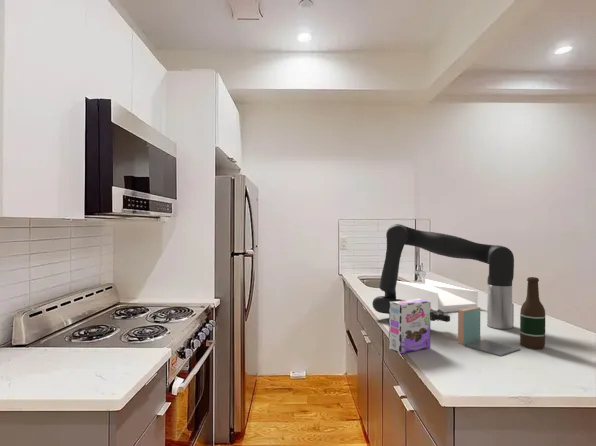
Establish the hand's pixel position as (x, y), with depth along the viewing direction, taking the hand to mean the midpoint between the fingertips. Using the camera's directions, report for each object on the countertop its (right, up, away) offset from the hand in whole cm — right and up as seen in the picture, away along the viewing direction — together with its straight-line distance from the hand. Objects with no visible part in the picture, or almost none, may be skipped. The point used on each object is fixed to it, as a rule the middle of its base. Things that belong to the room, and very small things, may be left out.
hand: (448, 319), depth 159 cm
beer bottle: (+25, -7, -13) cm, 29 cm away
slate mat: (+10, -7, -14) cm, 19 cm away
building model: (+14, -6, +65) cm, 66 cm away
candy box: (-19, -7, -15) cm, 25 cm away
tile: (+5, -7, -7) cm, 11 cm away
